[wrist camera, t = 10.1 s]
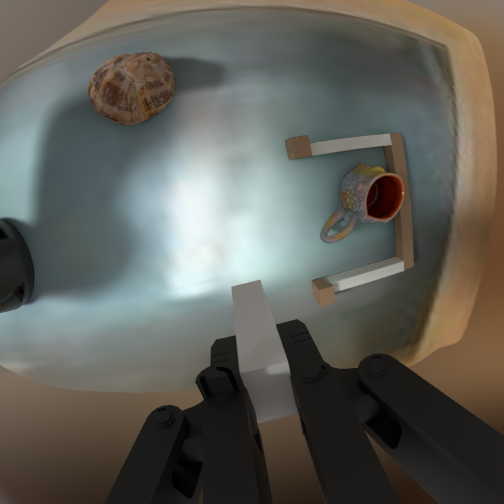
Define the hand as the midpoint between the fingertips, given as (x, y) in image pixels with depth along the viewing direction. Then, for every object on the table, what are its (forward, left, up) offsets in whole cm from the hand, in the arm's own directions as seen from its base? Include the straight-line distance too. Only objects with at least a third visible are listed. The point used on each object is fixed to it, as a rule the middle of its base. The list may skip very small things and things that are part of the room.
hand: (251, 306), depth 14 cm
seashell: (-8, +21, -21) cm, 30 cm away
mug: (+14, 0, -21) cm, 25 cm away
